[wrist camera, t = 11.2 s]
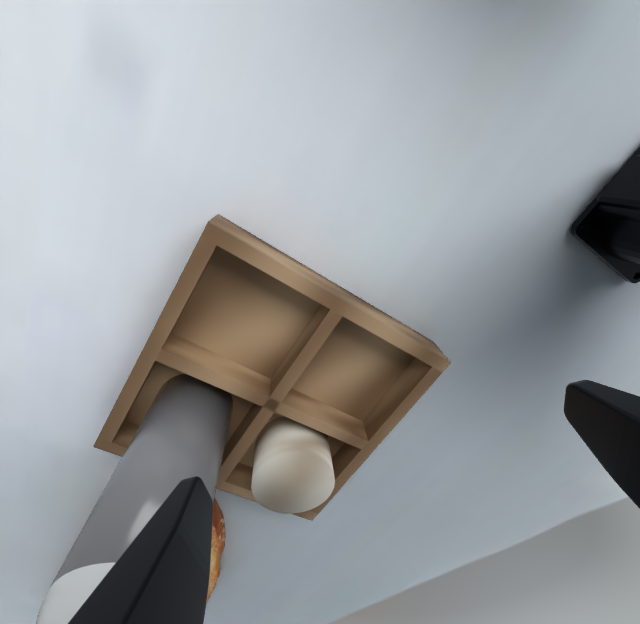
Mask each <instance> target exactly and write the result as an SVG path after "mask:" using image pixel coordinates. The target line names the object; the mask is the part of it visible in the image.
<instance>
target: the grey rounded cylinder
mask: <svg viewBox="0 0 640 624" xmlns="http://www.w3.org/2000/svg"><path fill="white" fill-rule="evenodd" d="M232 411H233V399H232V396H231V394H230V393H229V392H227V391H225V390H222V389H220V388H218V387H215V386H213V385H211V384H209V383H206V382H204V381H202V380H199V379H197V378H195V377H192V376H190V375H188V374H181V375H177V376H175V377H173V378H171V379H169V380H168V381H166V382H165V383H164V384H163V385H162V387H161V388H160V390H159V392H158V393H157V395H156V397H155V399H154V401H153V402H152V404H151V406H150V408H149V410H148V411H147V413H146V415H145V417H144V419H143V420H142V422H141V424H140V426H139V428H138V430H137V431H136V433H135V435H134V437H133V439H132V440H131V442H130V444H129V446H128V448H127V449H126V451H125V453H124V455H123V457H122V458H121V460H120V462H119V464H118V466H117V467H116V469H115V471H114V473H113V475H112V476H111V478H110V480H109V482H108V484H107V486H106V487H105V489H104V491H103V493H102V495H101V496H100V498H99V500H98V502H97V504H96V505H95V507H94V509H93V511H92V513H91V514H90V516H89V518H88V520H87V522H86V523H85V525H84V527H83V529H82V531H81V533H80V534H79V536H78V538H77V540H76V542H75V543H74V545H73V547H72V549H71V551H70V552H69V554H68V556H67V558H66V560H65V561H64V563H63V565H62V567H61V569H60V570H59V572H58V574H57V576H56V578H55V579H54V581H53V583H52V585H51V587H50V589H49V590H48V592H47V594H46V596H45V599H44V601H43V603H42V605H41V608H40V611H39V614H38V617H37V621H36V624H68V622H69V621H70V620H71V619H72V617H73V616H74V615H75V614H76V612H77V611H78V610H79V609H80V607H81V606H82V605H83V603H84V602H85V601H86V600H87V598H88V597H89V596H90V595H91V593H92V592H93V591H94V590H95V588H96V587H97V586H98V584H99V583H100V582H101V581H102V579H103V578H104V577H105V576H106V574H107V573H108V572H109V571H110V569H111V568H112V567H113V565H114V564H115V563H116V562H117V560H118V559H119V558H120V557H121V555H122V554H123V553H124V552H125V550H126V549H127V548H128V546H129V545H130V544H131V543H132V541H133V540H134V539H135V538H136V536H137V535H138V534H139V533H140V531H141V530H142V529H143V527H144V526H145V525H146V524H147V522H148V521H149V520H150V519H151V517H152V516H153V515H154V514H155V512H156V511H157V510H158V508H159V507H160V506H161V505H162V503H163V502H164V501H165V500H166V498H167V497H168V496H169V495H170V493H171V492H172V491H173V490H174V488H175V487H176V486H177V484H178V483H179V482H180V481H181V480H183V479H187V478H191V477H195V476H199V477H200V478H201V479H202V481H203V482H204V484H205V486H206V488H207V490H208V492H209V494H210V496H211V498H212V501H213V500H214V495H215V491H216V486H217V481H218V476H219V472H220V467H221V462H222V458H223V453H224V448H225V444H226V439H227V434H228V429H229V425H230V420H231V415H232Z"/></svg>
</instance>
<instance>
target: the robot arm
mask: <svg viewBox="0 0 640 624" xmlns="http://www.w3.org/2000/svg"><path fill="white" fill-rule="evenodd" d="M582 226H583V228H582V230H581V231H580V228H581V227H582ZM571 233H572V235H573V236H574V237H576V238H577V239H578V240H579V241H580V242H581V243H583V244H584V245H585V246H586V247H587V248H588V249H590V250H591V251H592V252H593V253H594V254H595V255H597V256H598V257H599V258H600V259H601V260H602V261H604V262H605V263H606V264H607V265H608V266H609V267H611V268H612V269H613V270H614V271H615V272H616V273H618V274H619V275H620V276H621V277H622V278H623V279H625V280H626V281H628V282H631V283H637V282H640V148H639V149H638V150H637V151H636V153H635V154H634V155H633V156H632V157H631V158H630V159H629V161H628V162H627V163H626V164H625V165H624V166H623V167H622V169H621V170H620V171H619V172H618V173H617V174H616V175H615V177H614V178H613V179H612V180H611V181H610V182H609V183H608V185H607V186H606V187H605V188H604V189H603V190H602V191H601V192H600V194H599V195H598V196H597V197H596V198H595V199H594V200H593V202H592V203H591V204H590V205H589V206H588V207H587V208H586V210H585V211H584V212H583V213H582V214H581V215H580V216H579V218H578V219H577V220H576V221H575V222H574V223H573V225H572V227H571ZM564 413H565V416H566V418H567V420H568V421H569V423H570V424H571V425H572V426H573V428H574V429H575V430H576V432H577V433H578V434H579V436H580V437H581V438H582V440H583V441H584V442H585V443H586V445H587V446H588V447H589V449H590V450H591V451H592V453H593V454H594V455H595V457H596V458H597V459H598V461H599V462H600V463H601V464H602V466H603V467H604V468H605V470H606V471H607V472H608V473H609V475H610V476H611V477H612V478H613V479H614V481H615V482H616V483H617V484H618V485H619V486H620V487H621V489H622V490H623V491H624V492H625V493H626V494H627V495H628V496H629V497H630V499H632V501H633V502H634V503H635V504H636V505H637V506H638V507H639V508H640V397H639V396H636V395H633V394H630V393H627V392H624V391H621V390H617V389H614V388H611V387H608V386H605V385H602V384H599V383H596V382H593V381H589V380H582V381H578V382H573V383H570V384H568V386H567V387H566V394H565V403H564ZM212 523H213V501H212V498H211V496H210V494H209V492H208V490H207V488H206V486H205V484H204V482H203V481H202V479H201V478H200V477H199V476H195V477H191V478H187V479H183V480H181V481H180V482H179V483H178V484H177V486H176V487H175V488H174V490H173V491H172V492H171V493H170V495H169V496H168V497H167V498H166V500H165V501H164V502H163V503H162V505H161V506H160V507H159V508H158V510H157V511H156V512H155V514H154V515H153V516H152V517H151V519H150V520H149V521H148V522H147V524H146V525H145V526H144V527H143V529H142V530H141V531H140V533H139V534H138V535H137V536H136V538H135V539H134V540H133V541H132V543H131V544H130V545H129V546H128V548H127V549H126V550H125V552H124V553H123V554H122V555H121V557H120V558H119V559H118V560H117V562H116V563H115V564H114V565H113V567H112V568H111V569H110V571H109V572H108V573H107V574H106V576H105V577H104V578H103V579H102V581H101V582H100V583H99V584H98V586H97V587H96V588H95V590H94V591H93V592H92V593H91V595H90V596H89V597H88V598H87V600H86V601H85V602H84V603H83V605H82V606H81V607H80V609H79V610H78V611H77V612H76V614H75V615H74V616H73V617H72V619H71V620H70V621H69V622H68V624H203V622H204V615H205V608H206V601H207V594H208V587H209V578H210V562H211V542H212Z"/></svg>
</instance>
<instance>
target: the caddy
mask: <svg viewBox="0 0 640 624" xmlns="http://www.w3.org/2000/svg"><path fill="white" fill-rule="evenodd" d="M450 363H451V362H450V361H449V360H448V358H447V357H446V356H445V355H444V354H443V352H442V351H441V350H440V349H439V348H438V346H437V345H436V344H435V343H434V342H433V341H431V340H429V339H428V338H426V337H424V336H423V335H421V334H419V333H418V332H416V331H414V330H412V329H411V328H409V327H407V326H406V325H404V324H402V323H401V322H399V321H397V320H396V319H394V318H392V317H391V316H389V315H387V314H386V313H384V312H382V311H380V310H379V309H377V308H375V307H374V306H372V305H370V304H369V303H367V302H365V301H364V300H362V299H360V298H359V297H357V296H355V295H354V294H352V293H350V292H348V291H347V290H345V289H343V288H342V287H340V286H338V285H337V284H335V283H333V282H332V281H330V280H328V279H327V278H325V277H323V276H322V275H320V274H318V273H316V272H315V271H313V270H311V269H310V268H308V267H306V266H305V265H303V264H301V263H300V262H298V261H296V260H295V259H293V258H291V257H290V256H288V255H286V254H284V253H283V252H281V251H279V250H278V249H276V248H274V247H273V246H271V245H269V244H268V243H266V242H264V241H263V240H261V239H259V238H257V237H256V236H254V235H252V234H251V233H249V232H247V231H246V230H244V229H242V228H241V227H239V226H237V225H236V224H234V223H232V222H231V221H229V220H227V219H225V218H224V217H222V216H220V215H219V214H218V215H216V216H215V217H214V218H212V219H211V220H210V221H209V222H208V224H207V225H206V227H205V229H204V231H203V233H202V235H201V237H200V239H199V241H198V243H197V245H196V247H195V249H194V251H193V253H192V255H191V257H190V259H189V261H188V263H187V265H186V266H185V268H184V270H183V272H182V274H181V276H180V278H179V280H178V282H177V284H176V286H175V288H174V290H173V292H172V294H171V296H170V298H169V300H168V302H167V304H166V306H165V308H164V309H163V311H162V313H161V315H160V317H159V319H158V321H157V323H156V325H155V327H154V329H153V331H152V333H151V335H150V337H149V339H148V341H147V343H146V345H145V347H144V349H143V350H142V352H141V354H140V356H139V358H138V360H137V362H136V364H135V366H134V368H133V370H132V372H131V374H130V376H129V378H128V380H127V382H126V384H125V386H124V388H123V390H122V392H121V393H120V395H119V397H118V399H117V401H116V403H115V405H114V407H113V409H112V411H111V413H110V415H109V417H108V419H107V421H106V423H105V425H104V427H103V429H102V431H101V433H100V435H99V436H98V438H97V440H96V442H95V444H94V446H93V447H95V448H98V449H101V450H104V451H107V452H110V453H113V454H116V455H119V456H122V457H123V455H124V453H125V451H126V449H127V448H128V446H129V444H130V442H131V440H132V439H133V437H134V435H135V433H136V431H137V430H138V428H139V426H140V424H141V422H142V420H143V419H144V417H145V415H146V413H147V411H148V410H149V408H150V406H151V404H152V402H153V401H154V399H155V397H156V395H157V393H158V392H159V390H160V388H161V387H162V385H163V384H164V383H165V382H166V381H168V380H169V379H171V378H173V377H175V376H177V375H181V374H188V375H190V376H192V377H195V378H197V379H199V380H202V381H204V382H206V383H209V384H211V385H213V386H215V387H218V388H220V389H222V390H225V391H227V392H229V393H230V394H231V396H232V399H233V411H232V415H231V420H230V425H229V429H228V434H227V439H226V444H225V448H224V453H223V458H222V462H221V467H220V472H219V476H218V481H217V486H216V488H217V489H220V490H223V491H226V492H229V493H232V494H234V495H237V496H240V497H243V498H246V499H249V500H252V501H255V502H258V503H260V504H261V505H262V506H264V507H265V508H267V509H269V510H272V511H275V512H279V513H291V514H294V515H297V516H300V517H303V518H306V519H309V520H313V519H314V518H315V517H316V516H317V515H318V513H319V512H320V511H321V510H322V509H323V508H324V507H325V505H326V504H327V503H328V502H329V501H330V500H331V499H332V498H333V496H334V495H335V494H336V493H337V492H338V491H339V490H340V488H341V487H342V486H343V485H344V484H345V483H346V482H347V480H348V479H349V478H350V477H351V476H352V475H353V474H354V472H355V471H356V470H357V469H358V468H359V467H360V466H361V464H362V463H363V462H364V461H365V460H366V459H367V458H368V456H369V455H370V454H371V453H372V452H373V451H374V450H375V449H376V447H377V446H378V445H379V444H380V443H381V442H382V441H383V439H384V438H385V437H386V436H387V435H388V434H389V433H390V431H391V430H392V429H393V428H394V427H395V426H396V425H397V423H398V422H399V421H400V420H401V419H402V418H403V417H404V415H405V414H406V413H407V412H408V411H409V410H410V409H411V408H412V406H413V405H414V404H415V403H416V402H417V401H418V400H419V398H420V397H421V396H422V395H423V394H424V393H425V392H426V390H427V389H428V388H429V387H430V386H431V385H432V384H433V382H434V381H435V380H436V379H437V378H438V377H439V376H440V374H441V373H442V372H443V371H444V370H445V369H446V368H447V366H448V365H449V364H450Z"/></svg>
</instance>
